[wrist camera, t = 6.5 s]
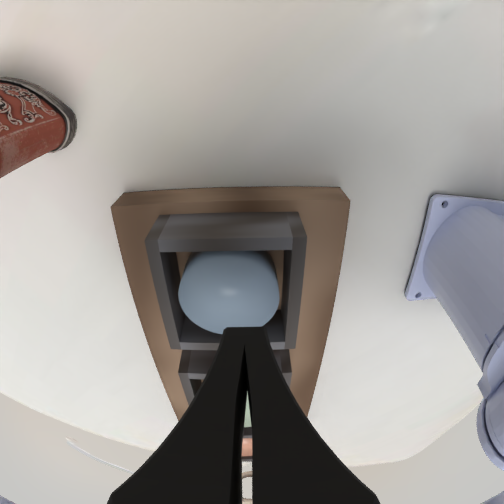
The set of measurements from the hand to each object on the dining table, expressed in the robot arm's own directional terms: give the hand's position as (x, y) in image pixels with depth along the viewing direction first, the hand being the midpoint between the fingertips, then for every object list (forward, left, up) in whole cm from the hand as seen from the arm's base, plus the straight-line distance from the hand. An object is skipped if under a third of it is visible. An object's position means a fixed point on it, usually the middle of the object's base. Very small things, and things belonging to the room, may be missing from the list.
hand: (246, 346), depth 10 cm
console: (+1, +10, -9) cm, 13 cm away
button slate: (+1, +1, -6) cm, 6 cm away
